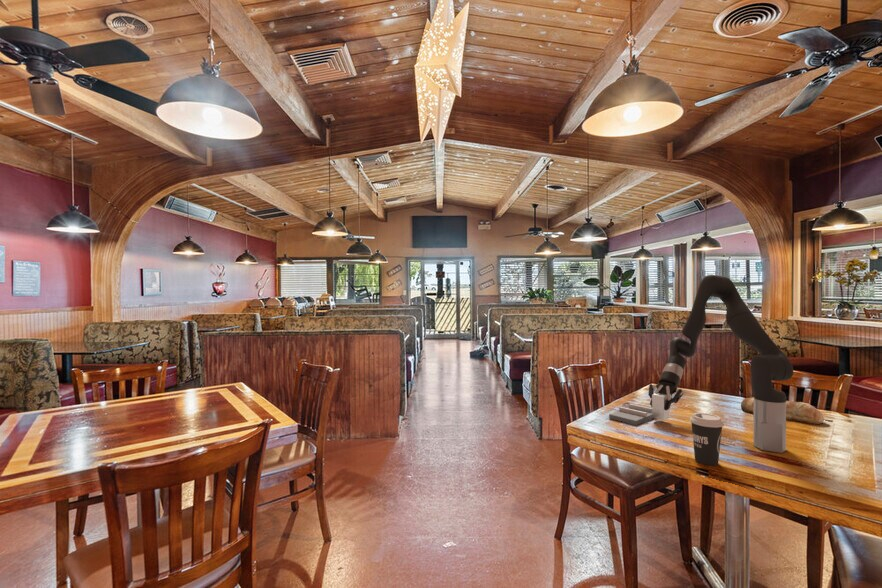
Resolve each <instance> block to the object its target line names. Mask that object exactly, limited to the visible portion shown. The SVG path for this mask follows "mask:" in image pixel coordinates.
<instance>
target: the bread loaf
mask: <svg viewBox="0 0 882 588" xmlns="http://www.w3.org/2000/svg"><path fill="white" fill-rule="evenodd" d="M740 408H741V410H742V411H743V412H745V413H750V414H754V396H753V397H752V396H751V397H746V398H744V399H742V401H741V403H740ZM787 419H790V420H789V421H794V420H795V421H794V422H798V421H800V422H799V423H803V422H806V423H805V424H809V423H812V424H811V425H822V424H823V423H824V420H825V422H828V423H829V422H830V423H834V422H833V421H834V420H832V419H826V418H824V414H823V413H822V412H821V411H820V410H819V409H818V408H816V407H815V406H814V405H811V404H810V403H806V402H803V401H789V400H786V420H787Z"/></svg>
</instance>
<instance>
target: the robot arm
mask: <svg viewBox="0 0 882 588" xmlns="http://www.w3.org/2000/svg"><path fill="white" fill-rule="evenodd" d="M711 297H713V298H717V299H720V300H721V301H722V303H723V304H724V306H725V308H726V311H725V312H726V313H725V320H726V324H727V326H728V328H729V329H730V330H731V332H732V333H733V335H734V336H735V337H737V338H738V339H739V340H740V341H742V342H743V343H745V344H746V345H749V346H750V347H752V348H753V349H754V350H756V351H757V352H758V353H759V354H756V355H754V356H753V357H752V358H751V361H750V370H749V371H750V382H751V384H750V385H751V390H752V392H753V397H754V413H753V420H752V421H753V425H752V426H753V428H752V429H753V436H752V437H753V446H754V447H756V448H758V449H759V450H761V451H767V452H772V453H780V454H784V452H786V451H787V419H786V401H787V394H786V393H785V392H784V391H781V390H778V389H776V388H774V386H773V382H775V381H789V380H790V379H791V378H793V376H794V367H793V364H792V362H791V360H790V359H789V358H788V356H787V355H786V354H785V353H784V352H783V350H781V349H780V347H779V346H778V345H777V344H776V343H775V342H774V341H773V339H772V338H771V337H770V336H769V334H768V333H767V332H766V330H765V329H764V328H763V327H762V325H761V324H760V322H759V321H758V319H757V318H756V316H755V315H754V313H753V312H752V311H751V310H750V308H749V307H748V306H747V304H746V303H745V301H744V299H743V298H742V297H741V294H740V293H739V291H738V289H737V287H736V286H735V283H734V282H733V280H731V279H730V278H728V277H727V276H722V275H716V274H707V275H705V276H704V277H703V278H702V279H701V281H700V283H699V284H698V288H697V292H696V294H695V298H694V301H693V304H692V309H691V311H690V313H689V315H688V318H687V319H686V321H685V324H684V325H683V327H682V329H681V333H682V335H683V336H685V337H686V338H688V340H689V341H688V340H687V339H684V338H682V337H677V336H675V337H673V338H672V339H671V340H670V342H669V357H668V359H667V362H666V364H665V366H664V367H663V370H662V372H661V375H660V377H659V380H658V383H657V384H655V385H653V384H652V383H650V384H649V385H648V386H649V387H648V394H647V395H648V396H649V398H650V399H651V400H650V402H649V406H651V407H652V394H655V393H663V394H667V395H668V400H667V401H666V403H665V406H664V409H665V410H668V409H669V408H671V405H672V404H677V403H678V402H680V400H681V398H682V397H683V395H684V392H683V389H681V388H678V387H679V385H680V382H681V380H682V376H683V373H684V370H685V367H686V365H687V359H686V358H691V357H693V356H694V355H695V354H696V351H697V343H698V339H699V337H700V334H702V332H703V329H704V327H705V325H706V323H707V322H706V321H707V316H706V315H707V314H706V307H707V303H708V301H709V299H710V298H711ZM685 357H686V358H685ZM673 394H674V396H673Z"/></svg>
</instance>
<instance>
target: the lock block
mask: <svg viewBox="0 0 882 588" xmlns="http://www.w3.org/2000/svg"><path fill="white" fill-rule="evenodd" d="M654 393H655V392H654ZM667 400H668V395H667V394H663V393H655V394H652V418H654V419H656V420H661V421H666V420H669V419H670V418H671V417H670V416H671V415H670V413H671V412H670V410H671V409H670V408H671V407H670V408H669V409H668V410H665V409H664V406H665V403H666V401H667Z"/></svg>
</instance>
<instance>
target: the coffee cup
mask: <svg viewBox="0 0 882 588" xmlns="http://www.w3.org/2000/svg"><path fill="white" fill-rule="evenodd" d="M689 422H690V423H691V429H692V430H691V431H692V442H693V443H692V444H693V452H694V460H695V462H696V463H698V464H701V465H704V466H710V467H712V466H713V467H714V466H718V465H719V461H720V460H719V459H720V450H721V442H722V441H721V439H722V432H723V427H725V426H724V425H725V424H724V421H723V420H722V417H720V416H719V415H717V414H714V413H713V414H711V413H707V412H695V413H693V414H692V416H690V419H689Z"/></svg>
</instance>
